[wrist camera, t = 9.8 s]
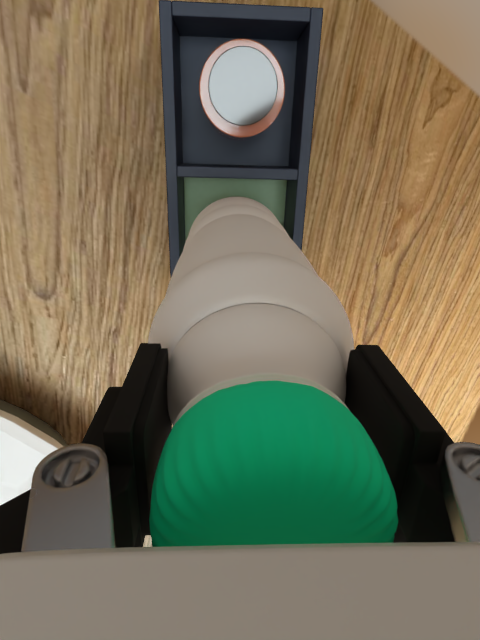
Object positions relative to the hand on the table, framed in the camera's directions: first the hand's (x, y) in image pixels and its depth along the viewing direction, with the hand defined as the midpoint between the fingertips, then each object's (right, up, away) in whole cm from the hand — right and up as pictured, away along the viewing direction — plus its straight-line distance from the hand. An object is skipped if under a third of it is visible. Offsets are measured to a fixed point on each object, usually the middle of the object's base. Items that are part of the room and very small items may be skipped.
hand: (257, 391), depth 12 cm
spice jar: (-1, +19, +20) cm, 28 cm away
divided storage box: (-1, +15, +23) cm, 28 cm away
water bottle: (-1, +8, +18) cm, 20 cm away
